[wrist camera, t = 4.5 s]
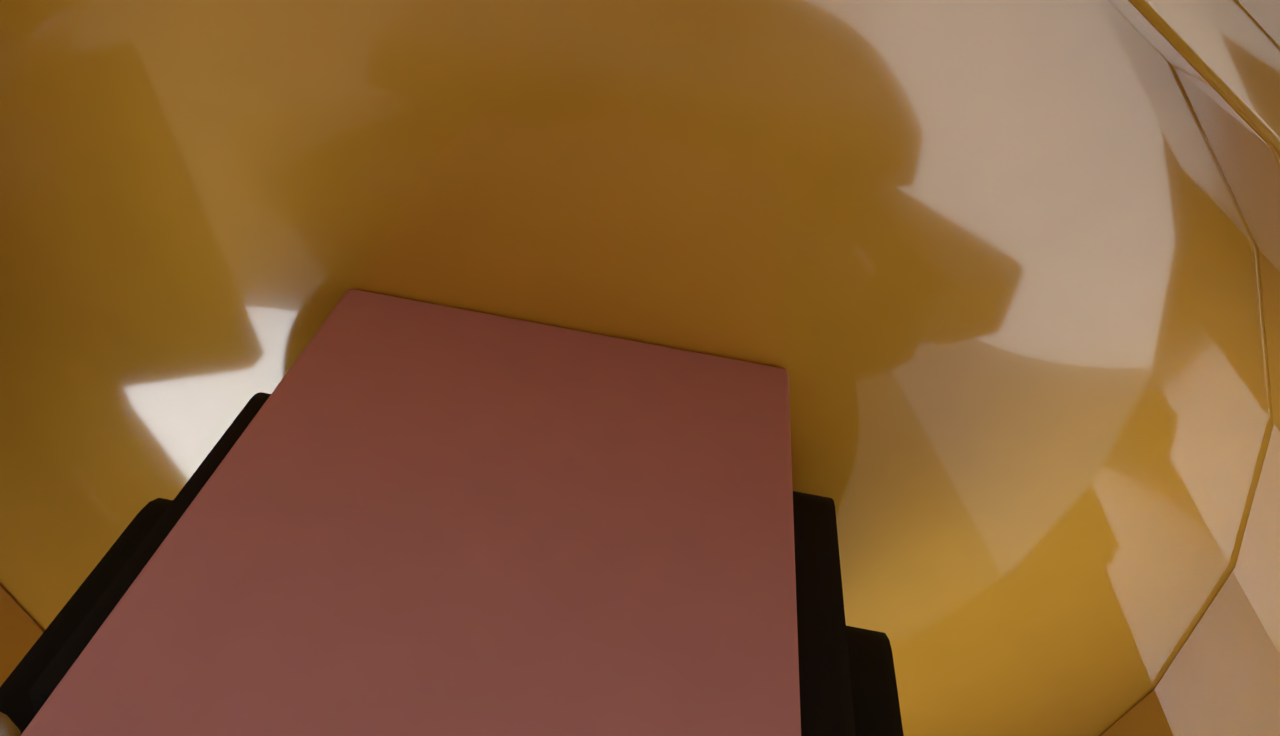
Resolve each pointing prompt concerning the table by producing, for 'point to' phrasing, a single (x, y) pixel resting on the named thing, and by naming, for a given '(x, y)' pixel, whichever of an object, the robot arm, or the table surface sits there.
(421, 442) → the toy bear
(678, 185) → the bowl
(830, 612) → the robot arm
